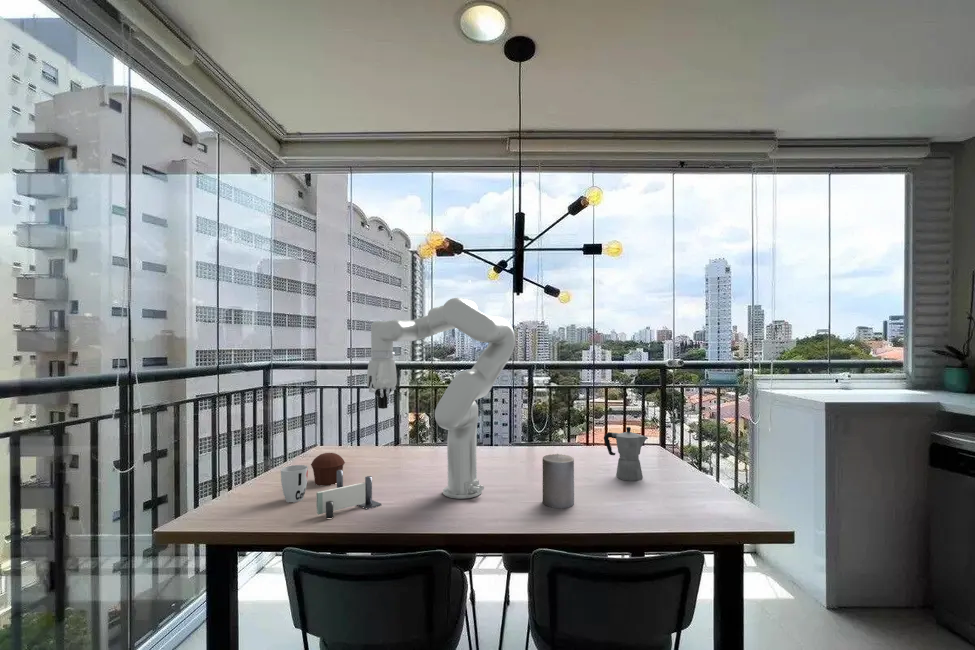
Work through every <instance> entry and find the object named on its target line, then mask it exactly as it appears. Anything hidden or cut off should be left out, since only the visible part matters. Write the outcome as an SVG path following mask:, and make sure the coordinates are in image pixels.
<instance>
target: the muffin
mask: <svg viewBox="0 0 975 650" xmlns="http://www.w3.org/2000/svg"><path fill="white" fill-rule="evenodd" d="M345 464H346V462H345V460H344V459H343V458H342V456H341V455H339V454H338V453H335V452H323V453H321V454H319V455H318V456H316V457H315V458H314V459H313V460H312V462H311V464H310V466H311V467H312V473H313V478H314V483H315V485H316V484H317V485H316V486H320V485H329V486H332V485H331V484H334V485H336V484H335V483H337V470H343V471H344V465H345Z"/></svg>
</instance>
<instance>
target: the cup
mask: <svg viewBox="0 0 975 650" xmlns="http://www.w3.org/2000/svg"><path fill="white" fill-rule="evenodd" d="M308 471H309V466H308V465H305V464H294V465H287V466H284V467H281V468H280V481H281V482H280V483H281V487H282V493H283V497H284V499H285V502H286V503H289V502H293V503H298V501H299V502H302V501H303V500H304V498H305V494H306V490H307V485H308V484H307V483H308Z"/></svg>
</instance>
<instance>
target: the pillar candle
mask: <svg viewBox="0 0 975 650" xmlns="http://www.w3.org/2000/svg"><path fill="white" fill-rule="evenodd" d="M542 504H543V505H544V506H547V507H549V508H554V509H565V508H571V507H572V506H573V505H575V458H574V457H573V456H570V455H566V454H562V453H561V454H560V453H556V454H555V453H551V454H547V455H544V456H542Z"/></svg>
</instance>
